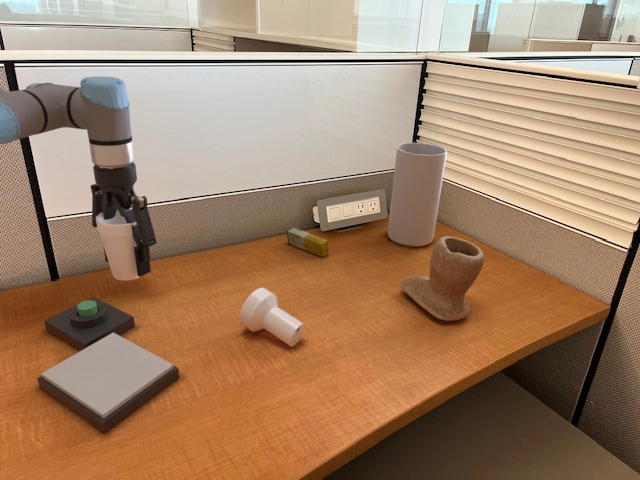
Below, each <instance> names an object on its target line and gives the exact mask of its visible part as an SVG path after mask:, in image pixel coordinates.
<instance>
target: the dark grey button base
mask: <svg viewBox="0 0 640 480" xmlns="http://www.w3.org/2000/svg"><path fill="white" fill-rule="evenodd" d="M87 300H92V301H95V302H96V304H97V309H98V312H97V314H95V315H93V316H90V317H80V316H79V314H78V309H77V305H78V304H79V303H77V304H74V305H73V306H71V307H68V308H67V309H65V310H62V311H61V312H59V313H57V314H54V315H52V316H51V317H49V318H46V319H44V326H45V329H46V332H47V333H49V334H51V335H53V336H54V337H55V338H58V339H60V340H61V341H63V342H64V343H66V344H68V345H70V346H71V347H73V348H75V349H76V350H78V351H79V352H80V351H82V350H83V349H85V348H87V347H89V346H90V345H92V344H94V343H96V342H97V341H99V340H101V339H103V338H104V337H106V336H108V335H110V334H111V333H115V334H117V335H119V336H121V337H122V335H124V334H126V333H127V332H129V331H131V330H133V329H134V328H136V325H135V318H134V316H133V315H131V314H129V313H127V312H125V311H123V310H121V309H119V308H117V307H115V306H113V305H111V304H109V303H107V302H105V301H103V300H101V299H99V298H97V297H94V296H92V297H89V298H88V299H86V300H84V301H87Z"/></svg>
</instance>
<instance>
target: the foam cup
mask: <svg viewBox="0 0 640 480" xmlns="http://www.w3.org/2000/svg"><path fill="white" fill-rule="evenodd" d="M129 210H132V207H131V208H130V209H128V210H125V211H129ZM96 223H97V227H96V229H97V233H99V237H100V239H101V243H102V246H104V247H103V250H104V249H105V252H106V256H107V259H108V262H107V263H108V265H109V268H110V272H111V275H112V277H113V278H114V279H115V280H117V281H133V280H136V279H139V278H140V277H139V276H138V275H137V267H136V259H135V251H134V247H136V246H137V245H136V243H135V240H134V238H133V236H132V235H133V234H132V226H131V225H133V226H136V225H137V223H136V222H135V223H132V224H130V223H126V220H125V218H124V217H122V216H121V215H120V213H119V211H118V210H117V211H116V215H115V217H113V218H112V219H108V220H105V219H104V214H103V213H100V214H99V215H98V216H97V217H96Z"/></svg>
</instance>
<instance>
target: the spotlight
mask: <svg viewBox="0 0 640 480" xmlns="http://www.w3.org/2000/svg"><path fill="white" fill-rule="evenodd" d="M278 299H279V298H278V296H277V294H275V293H273V292H272V291H270V290H269V289H267V288H266V287H260V288H257V289H255V290H254V291H253V292H252V293H250V295H249V296H248V297H247V298H246V300H245V301H244V302H243V304H242V306H241V308H240V310H239V316H238V321H239V324H240V325H241V326H243V327H245V328H246V329H248V330H249V331H251V332H252V333H255V332H258V331H262V330H265V331H266V332H269V334H271V335H272V336H274V337H275V338H277V339H279V340H280V341H281V342H283V343H285V344H286V345H287V346H289V347H291V348H292V347H295V345H297V343H298V342H299V341H300V340H301V338H302V337H303V335H304V333H305V330H306V324H305V323H304V322H302V321H301V320H299V319H297V318H296V317H294V316H292V315H291V314H289V313H288V312H287V311H285V310H283V309H282V308H280V307H279V300H278Z"/></svg>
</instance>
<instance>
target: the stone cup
mask: <svg viewBox="0 0 640 480" xmlns="http://www.w3.org/2000/svg"><path fill="white" fill-rule="evenodd" d="M484 263H485V255H484V252H483V251H482V249H481V248H480V247H479V246H477V245H476V244H474V243H472V242H470V241H468V240H465V239H463V238H459V237H456V236H450V235H446V236H442V237H440V238H439V239H438V240H437V241H436V242H435V243H434V245H433V247H432V251H431V255H430V260H429V277H427V276H423V275H413V276H408V277H406V278H403V279H402V280H400V281H399V283H398V286H399V288H401V289H402V290H403V291H404V292H405V293H406V294H407V296H409V297H410V298H411V299H412V300H413V301H414V302H415V303H416V304H417V305H419V306H420V307H421V308H423V309H424V310H425V311H426V312H428V313H429V314H430V315H432V316H433V317H434V318H435V319H438V320H441V321H446V322H451V321H459V320H462V319H465V318H467V317H468V316H469V315H470V314H471V313H472V309H471V307H470V306H469V304H468V303H467V302H466V300H465V296H466V294H467V292H468V291H469V289H470V288H471V287H472V286H473V284H474V283H475V281H476V280H477V278H478V277H479V275H480V273H481V271H482V269H483V266H484Z"/></svg>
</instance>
